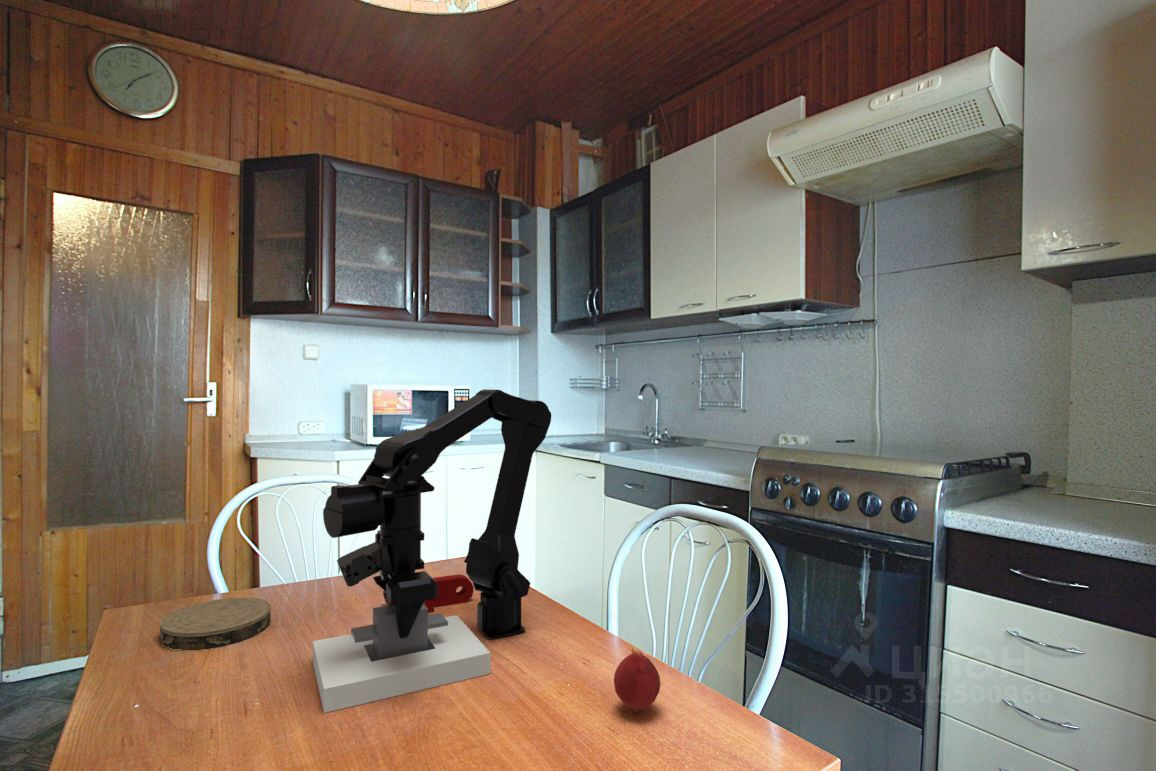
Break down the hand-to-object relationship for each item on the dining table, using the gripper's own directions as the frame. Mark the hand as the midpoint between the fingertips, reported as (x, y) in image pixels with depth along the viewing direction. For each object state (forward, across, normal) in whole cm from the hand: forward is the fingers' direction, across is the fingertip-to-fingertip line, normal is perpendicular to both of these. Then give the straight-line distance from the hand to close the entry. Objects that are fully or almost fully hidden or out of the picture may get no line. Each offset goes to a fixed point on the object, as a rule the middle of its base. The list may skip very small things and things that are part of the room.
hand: (400, 632), depth 88 cm
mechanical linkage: (+6, -23, +10) cm, 25 cm away
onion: (+5, +26, +24) cm, 36 cm away
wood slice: (+6, -28, -24) cm, 37 cm away
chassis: (+5, 0, 0) cm, 5 cm away
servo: (+2, 0, 0) cm, 2 cm away
